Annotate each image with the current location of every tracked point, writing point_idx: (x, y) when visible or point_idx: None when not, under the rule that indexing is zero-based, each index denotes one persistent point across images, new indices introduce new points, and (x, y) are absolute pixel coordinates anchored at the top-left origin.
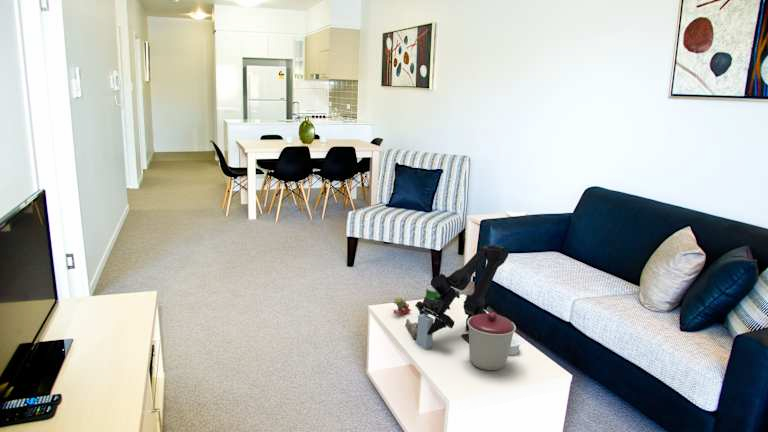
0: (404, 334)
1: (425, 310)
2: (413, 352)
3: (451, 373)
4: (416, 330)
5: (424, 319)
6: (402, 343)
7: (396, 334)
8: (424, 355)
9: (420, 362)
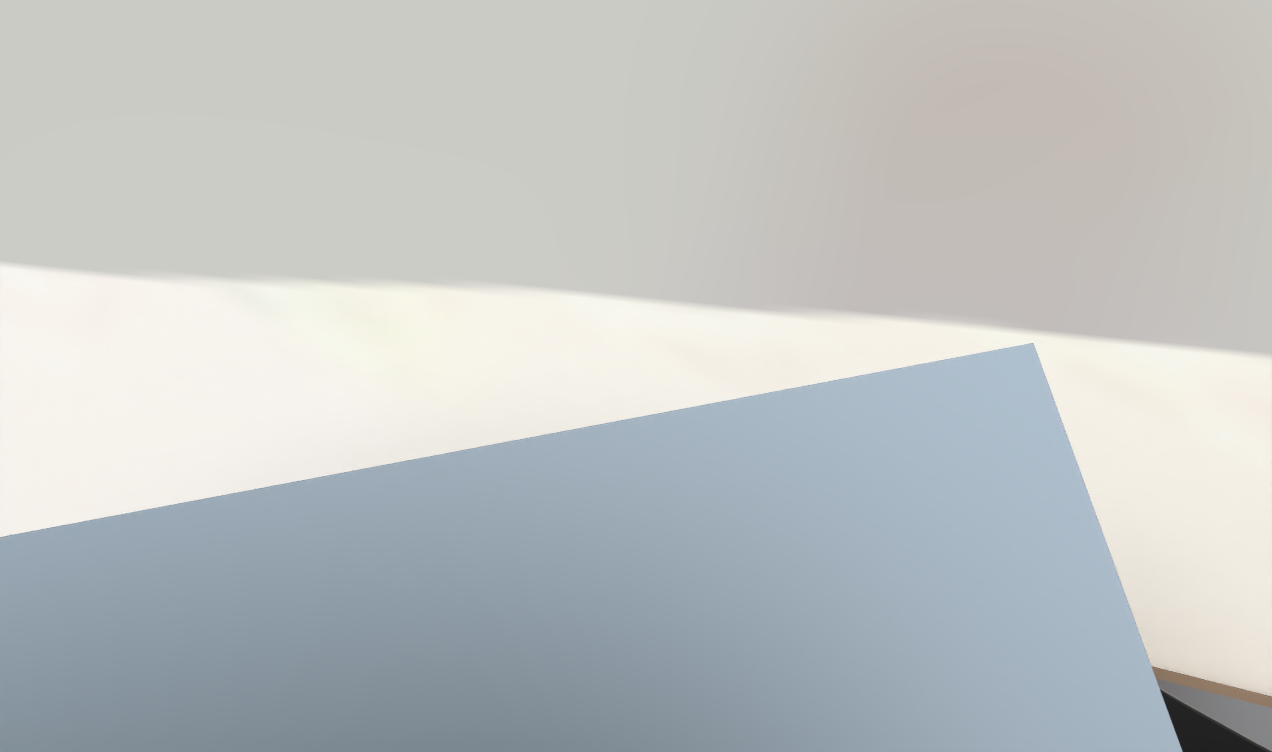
0: (1243, 559)
1: None
2: (408, 341)
3: None
4: None
5: (78, 544)
6: (831, 319)
7: (1267, 390)
8: (199, 483)
9: (24, 278)
